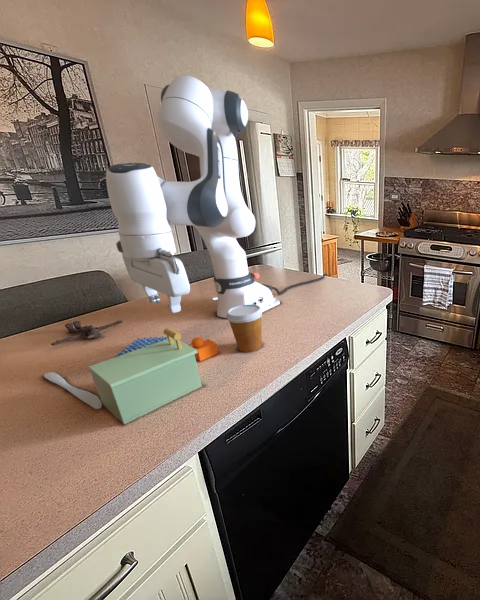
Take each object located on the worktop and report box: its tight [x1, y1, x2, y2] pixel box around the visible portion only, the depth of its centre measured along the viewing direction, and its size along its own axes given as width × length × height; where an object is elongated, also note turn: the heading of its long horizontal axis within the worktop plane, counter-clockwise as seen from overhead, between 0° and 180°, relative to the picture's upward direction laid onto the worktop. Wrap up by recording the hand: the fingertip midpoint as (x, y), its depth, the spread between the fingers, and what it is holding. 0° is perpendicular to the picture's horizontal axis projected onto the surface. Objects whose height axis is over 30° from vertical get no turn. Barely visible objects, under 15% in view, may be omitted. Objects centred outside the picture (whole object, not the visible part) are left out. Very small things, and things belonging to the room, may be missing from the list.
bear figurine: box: [50, 319, 124, 346], centre depth 102 cm, size 18×4×14 cm
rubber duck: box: [188, 336, 219, 362], centre depth 90 cm, size 6×4×6 cm, turn 147°
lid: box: [88, 327, 198, 388], centre depth 71 cm, size 16×12×5 cm
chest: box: [89, 355, 203, 425], centre depth 74 cm, size 16×12×9 cm
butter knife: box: [43, 371, 103, 410], centre depth 76 cm, size 1×27×3 cm
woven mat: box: [116, 336, 168, 357], centre depth 93 cm, size 10×11×2 cm
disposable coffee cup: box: [225, 304, 264, 353], centre depth 95 cm, size 10×10×12 cm
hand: (165, 306), depth 73 cm, fingers open, 8 cm apart
